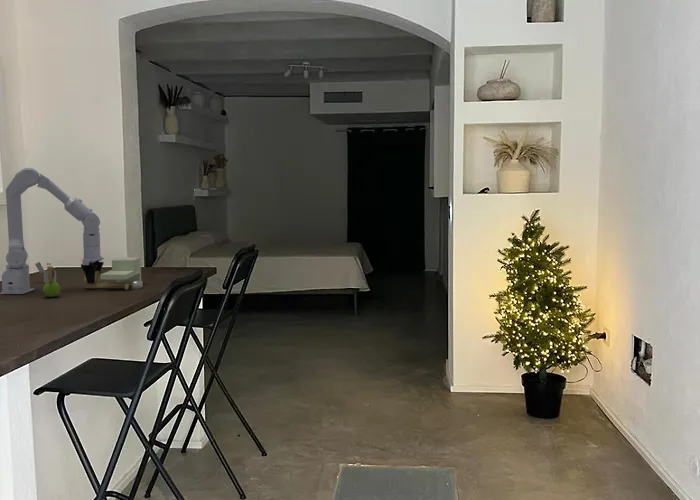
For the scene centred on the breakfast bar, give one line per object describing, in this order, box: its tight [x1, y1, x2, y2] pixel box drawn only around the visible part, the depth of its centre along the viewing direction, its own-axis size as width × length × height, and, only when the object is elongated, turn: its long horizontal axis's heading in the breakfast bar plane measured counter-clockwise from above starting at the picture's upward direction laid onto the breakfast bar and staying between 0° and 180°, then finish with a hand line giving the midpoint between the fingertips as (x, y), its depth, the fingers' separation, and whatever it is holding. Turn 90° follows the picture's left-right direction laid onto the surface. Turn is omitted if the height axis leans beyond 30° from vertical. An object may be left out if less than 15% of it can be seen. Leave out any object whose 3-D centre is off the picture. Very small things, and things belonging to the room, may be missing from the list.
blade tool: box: [83, 271, 130, 290], centre depth 235 cm, size 7×16×6 cm, turn 93°
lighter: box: [34, 261, 57, 284], centre depth 248 cm, size 7×2×8 cm, turn 100°
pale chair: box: [99, 256, 142, 283], centre depth 238 cm, size 20×9×10 cm, turn 3°
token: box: [129, 280, 144, 290], centre depth 236 cm, size 4×4×2 cm
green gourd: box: [42, 262, 61, 298], centre depth 214 cm, size 5×6×12 cm
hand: (92, 282), depth 235 cm, fingers closed on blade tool, 4 cm apart
